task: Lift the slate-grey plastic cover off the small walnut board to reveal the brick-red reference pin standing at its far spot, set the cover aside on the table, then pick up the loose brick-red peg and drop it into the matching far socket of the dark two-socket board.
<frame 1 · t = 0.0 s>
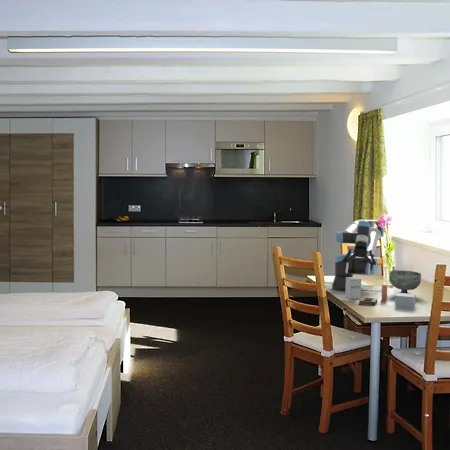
hand: (357, 273, 384), 15 cm above the table, tool tilted 35°, fingers open, 13 cm apart
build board: (368, 303, 370), on the table
bowl: (404, 296, 394), on the table
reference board: (405, 306, 361), on the table
cover: (405, 306, 361), on the table
supplement box: (352, 298, 386), on the table
peg: (384, 301, 376), on the table
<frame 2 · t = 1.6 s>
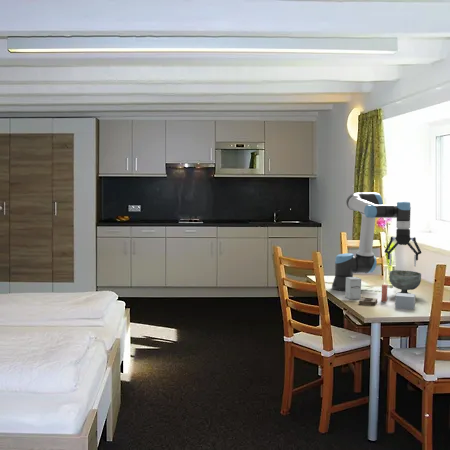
hand: (402, 265, 360), 24 cm above the table, tool pointing down, fingers open, 13 cm apart
nothing on the table moved.
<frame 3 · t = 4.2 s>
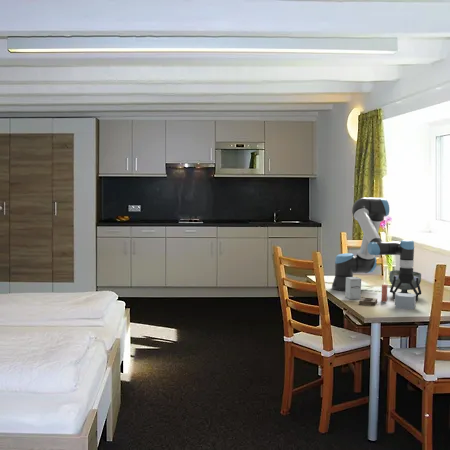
hand: (405, 305, 361), 1 cm above the table, tool pointing down, fingers closed on cover, 10 cm apart
cover: (405, 306, 361), on the table, touching gripper
everything else where it was.
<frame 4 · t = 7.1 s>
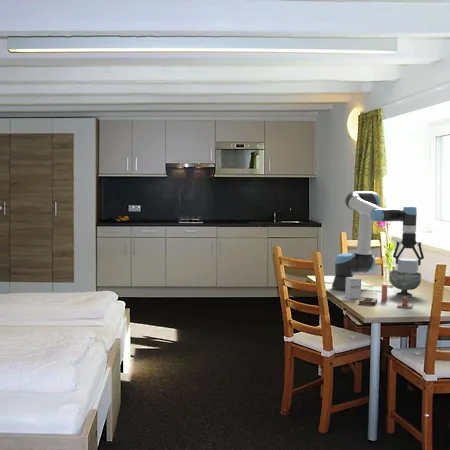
hand: (407, 270, 370), 20 cm above the table, tool pointing down, fingers closed on cover, 10 cm apart
cover: (407, 271, 370), point 19 cm above the table, touching gripper
everything else where it was.
when the fingers open (2 cm above the table, at t = 10.2 s): cover drops 1 cm, on the table.
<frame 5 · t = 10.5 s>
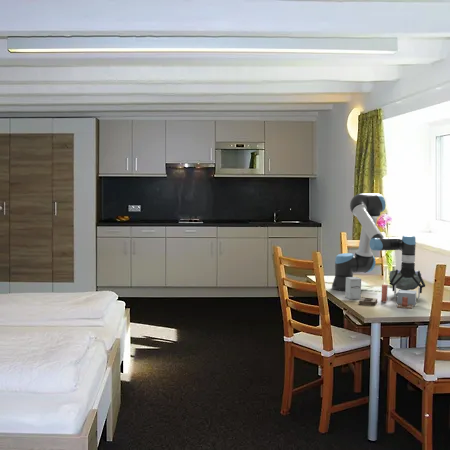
hand: (406, 297, 371), 3 cm above the table, tool pointing down, fingers open, 13 cm apart
cover: (406, 303, 371), on the table
everything else where it was.
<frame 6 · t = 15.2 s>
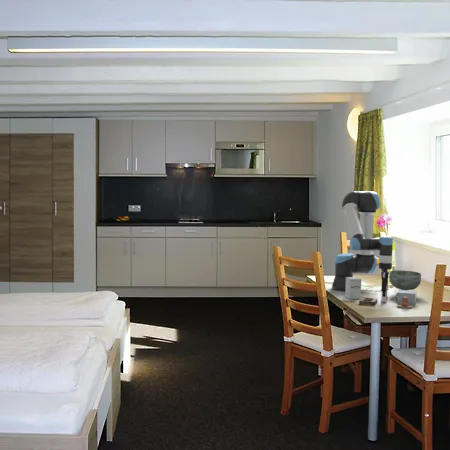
hand: (384, 301, 376), 0 cm above the table, tool pointing down, fingers closed on peg, 3 cm apart
peg: (384, 301, 376), on the table, touching gripper
everything else where it was.
when the fingers open (3 cm above the table, at t = 20.7 s): peg stays where it is, resting in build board.
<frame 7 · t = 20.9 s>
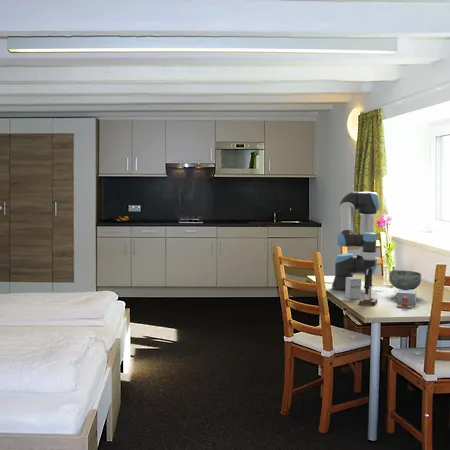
hand: (367, 298, 367), 3 cm above the table, tool pointing down, fingers open, 6 cm apart
peg: (367, 304, 368), resting in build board
everything else where it was.
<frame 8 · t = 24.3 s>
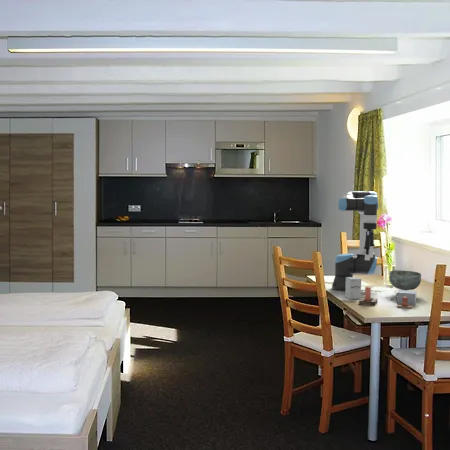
hand: (369, 258, 365), 27 cm above the table, tool pointing down, fingers open, 13 cm apart
nothing on the table moved.
at the end: peg 0.0 cm from the target spot on the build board, point 0.0 cm above the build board's base; cover moved 11.0 cm from its start; the gripper is holding nothing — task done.
